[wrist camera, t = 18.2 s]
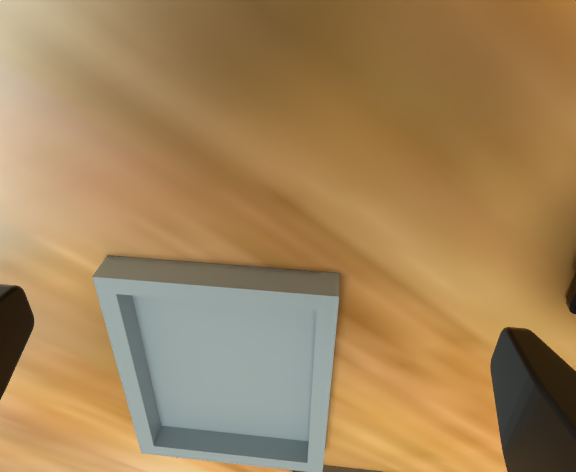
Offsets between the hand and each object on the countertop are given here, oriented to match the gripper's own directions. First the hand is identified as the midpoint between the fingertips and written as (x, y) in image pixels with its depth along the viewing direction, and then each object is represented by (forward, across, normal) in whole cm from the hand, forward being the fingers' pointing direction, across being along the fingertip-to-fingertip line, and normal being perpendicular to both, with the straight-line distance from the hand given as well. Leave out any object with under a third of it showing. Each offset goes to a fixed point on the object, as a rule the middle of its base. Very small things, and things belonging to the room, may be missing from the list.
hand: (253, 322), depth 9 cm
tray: (+13, +4, +16) cm, 21 cm away
